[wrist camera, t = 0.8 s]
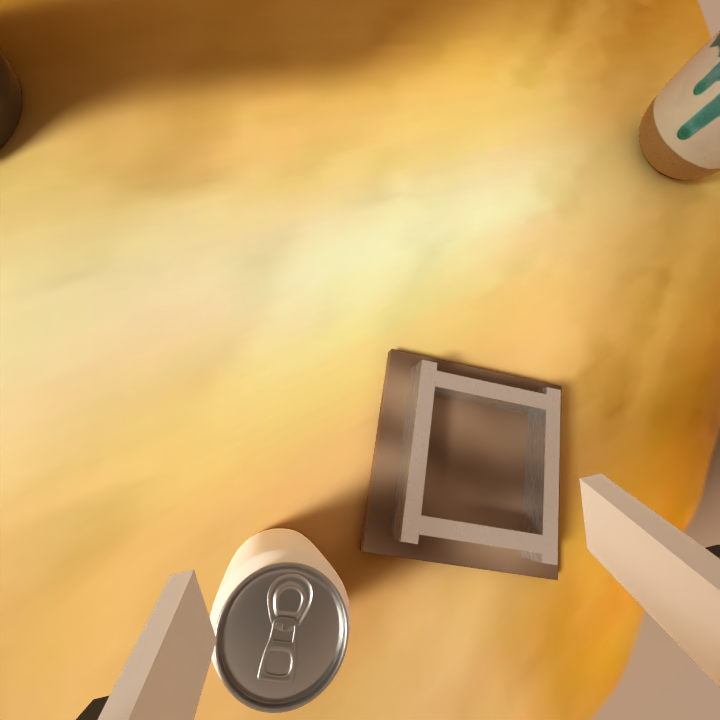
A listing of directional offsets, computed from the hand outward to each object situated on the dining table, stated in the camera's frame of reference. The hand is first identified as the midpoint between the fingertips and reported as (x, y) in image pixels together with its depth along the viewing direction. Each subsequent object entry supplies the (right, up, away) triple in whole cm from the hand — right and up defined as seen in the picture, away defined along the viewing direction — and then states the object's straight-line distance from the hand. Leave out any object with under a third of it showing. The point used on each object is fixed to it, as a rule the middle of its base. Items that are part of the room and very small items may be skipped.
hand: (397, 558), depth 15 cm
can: (-7, -8, +15) cm, 19 cm away
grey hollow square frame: (+7, -1, +20) cm, 22 cm away
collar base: (+7, -1, +20) cm, 22 cm away
